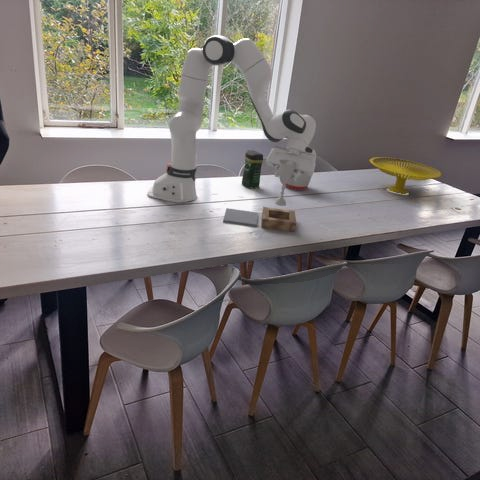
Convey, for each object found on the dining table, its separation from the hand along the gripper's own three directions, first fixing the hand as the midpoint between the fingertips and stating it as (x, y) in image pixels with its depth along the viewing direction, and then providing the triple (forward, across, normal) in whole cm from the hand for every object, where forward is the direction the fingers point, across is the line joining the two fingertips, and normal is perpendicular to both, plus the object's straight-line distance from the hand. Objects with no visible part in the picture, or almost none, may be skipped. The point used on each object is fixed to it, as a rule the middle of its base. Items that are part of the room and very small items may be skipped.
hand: (284, 178), depth 175 cm
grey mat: (+18, -15, +11) cm, 26 cm away
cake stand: (-54, +42, +82) cm, 107 cm away
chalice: (+8, 0, +9) cm, 12 cm away
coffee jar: (-14, -29, +43) cm, 54 cm away
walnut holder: (+14, 0, +15) cm, 20 cm away
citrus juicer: (-25, -9, +54) cm, 60 cm away
